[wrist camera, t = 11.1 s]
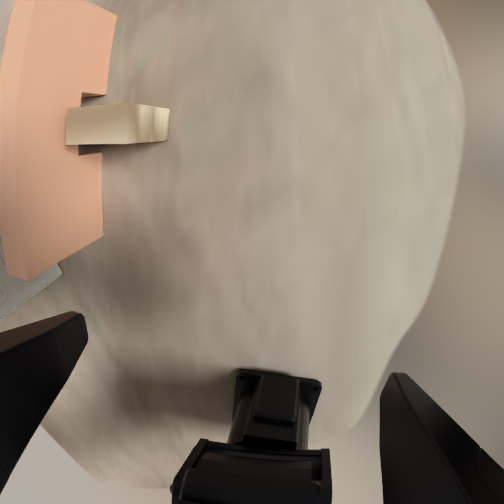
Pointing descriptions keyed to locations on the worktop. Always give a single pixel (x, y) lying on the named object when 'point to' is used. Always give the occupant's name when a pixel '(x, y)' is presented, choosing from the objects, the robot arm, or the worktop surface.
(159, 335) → the worktop surface
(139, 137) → the birch notched block
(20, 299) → the small box
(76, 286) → the worktop surface
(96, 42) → the terracotta plate
